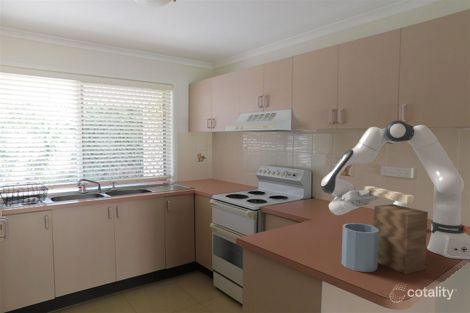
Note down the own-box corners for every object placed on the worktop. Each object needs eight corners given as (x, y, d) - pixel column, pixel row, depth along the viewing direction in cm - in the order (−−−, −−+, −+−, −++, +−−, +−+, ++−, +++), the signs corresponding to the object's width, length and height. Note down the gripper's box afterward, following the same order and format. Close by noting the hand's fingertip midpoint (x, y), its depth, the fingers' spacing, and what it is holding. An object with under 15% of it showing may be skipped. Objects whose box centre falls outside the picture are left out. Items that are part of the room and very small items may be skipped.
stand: (372, 259, 137) (374, 206, 135) (391, 255, 142) (393, 204, 140) (405, 274, 122) (408, 214, 121) (424, 269, 127) (427, 212, 126)
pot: (375, 261, 135) (377, 225, 134) (378, 274, 122) (380, 234, 121) (341, 256, 140) (343, 221, 139) (341, 268, 127) (342, 230, 126)
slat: (364, 192, 145) (364, 186, 145) (370, 192, 147) (370, 186, 147) (407, 203, 125) (407, 196, 125) (413, 202, 127) (414, 195, 127)
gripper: (335, 195, 151) (354, 184, 139) (365, 192, 159) (386, 182, 148) (339, 207, 148) (359, 197, 137) (370, 204, 157) (391, 194, 145)
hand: (373, 189), depth 142 cm, fingers closed on slat, 4 cm apart
